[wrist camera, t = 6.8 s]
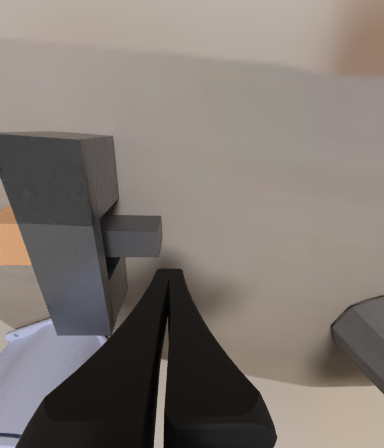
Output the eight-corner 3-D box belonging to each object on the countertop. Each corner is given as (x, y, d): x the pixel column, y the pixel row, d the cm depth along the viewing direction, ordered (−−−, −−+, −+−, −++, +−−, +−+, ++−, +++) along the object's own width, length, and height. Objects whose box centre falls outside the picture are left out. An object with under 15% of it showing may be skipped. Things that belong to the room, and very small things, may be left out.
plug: (161, 209, 16) (156, 225, 13) (162, 244, 18) (158, 265, 15) (8, 206, 15) (-29, 223, 13) (23, 243, 17) (-7, 265, 14)
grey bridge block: (112, 136, 13) (77, 139, 9) (127, 288, 20) (111, 335, 15) (52, 131, 13) (-16, 132, 9) (86, 287, 19) (57, 335, 15)
